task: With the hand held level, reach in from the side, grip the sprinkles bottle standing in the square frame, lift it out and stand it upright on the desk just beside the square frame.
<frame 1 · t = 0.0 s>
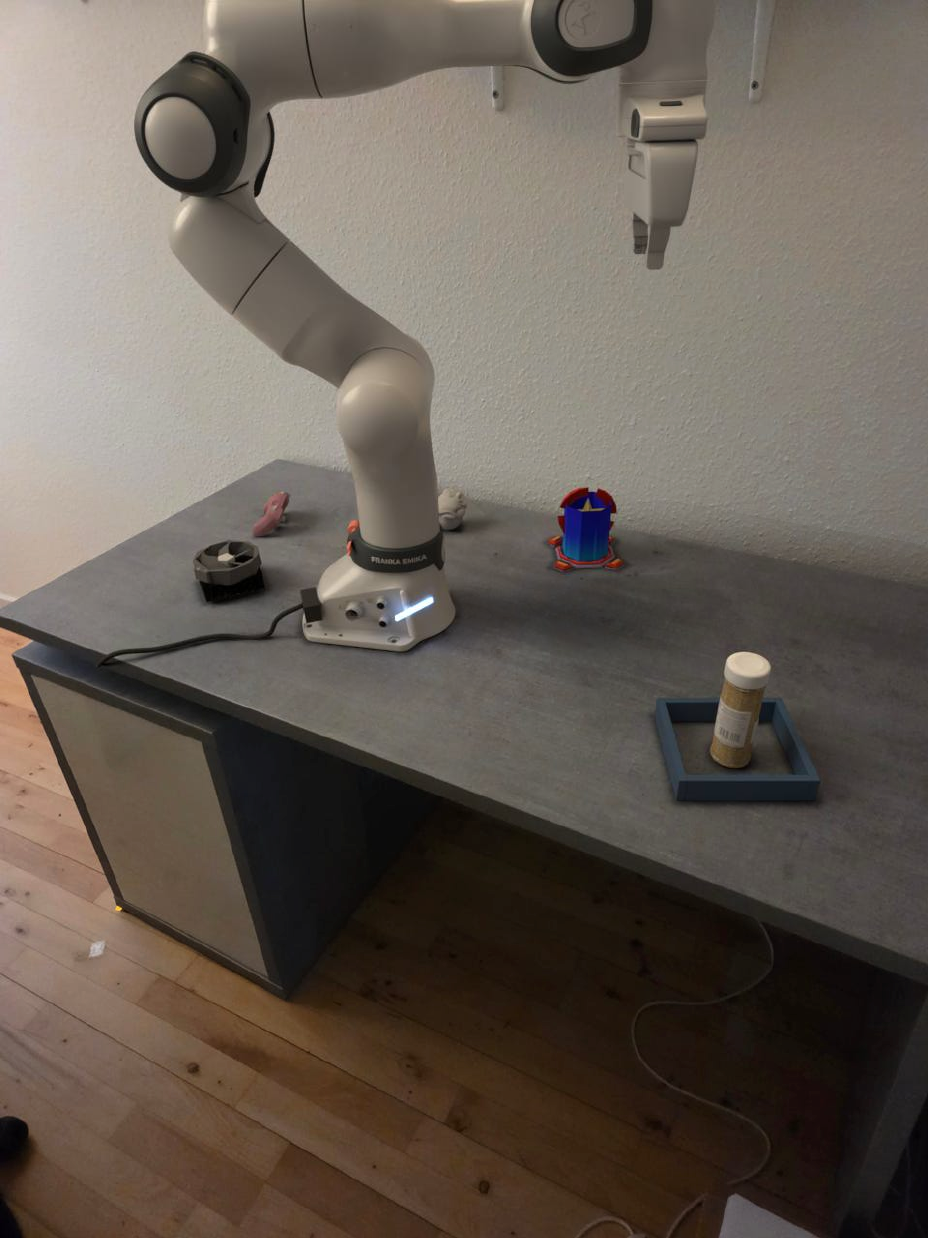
hand: (646, 260, 89), 48 cm above the table, tool pointing down, fingers open, 8 cm apart
sprinkles bottle: (728, 757, 91), resting in square frame
pink lumpy piece: (275, 526, 144), on the table
square frame: (729, 755, 91), on the table
cpu cooler: (232, 586, 126), on the table
frog figurine: (449, 528, 141), on the table
fantasy tower: (584, 554, 131), on the table
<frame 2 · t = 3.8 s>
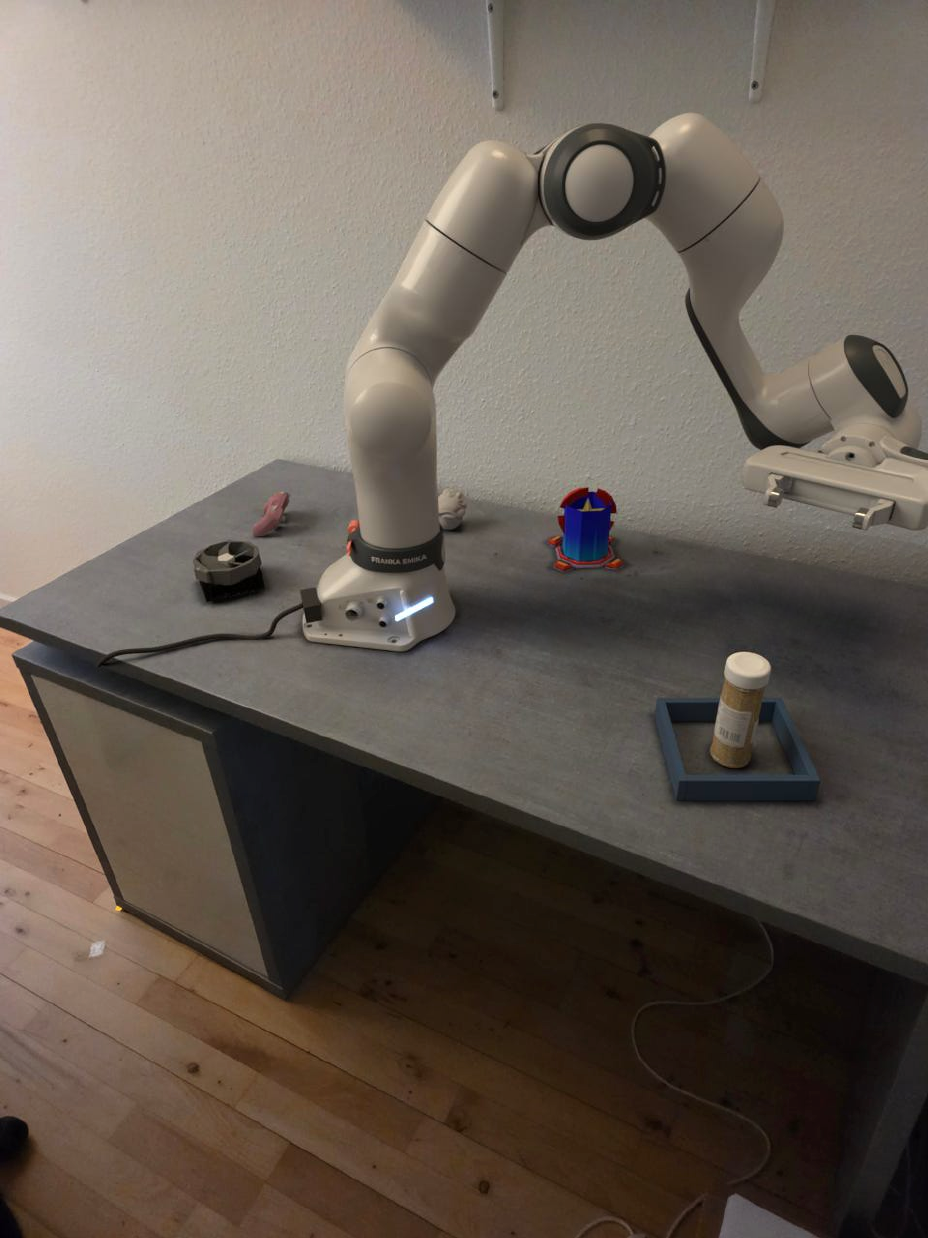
hand: (814, 511, 84), 26 cm above the table, tool horizontal, fingers open, 8 cm apart
nothing on the table moved.
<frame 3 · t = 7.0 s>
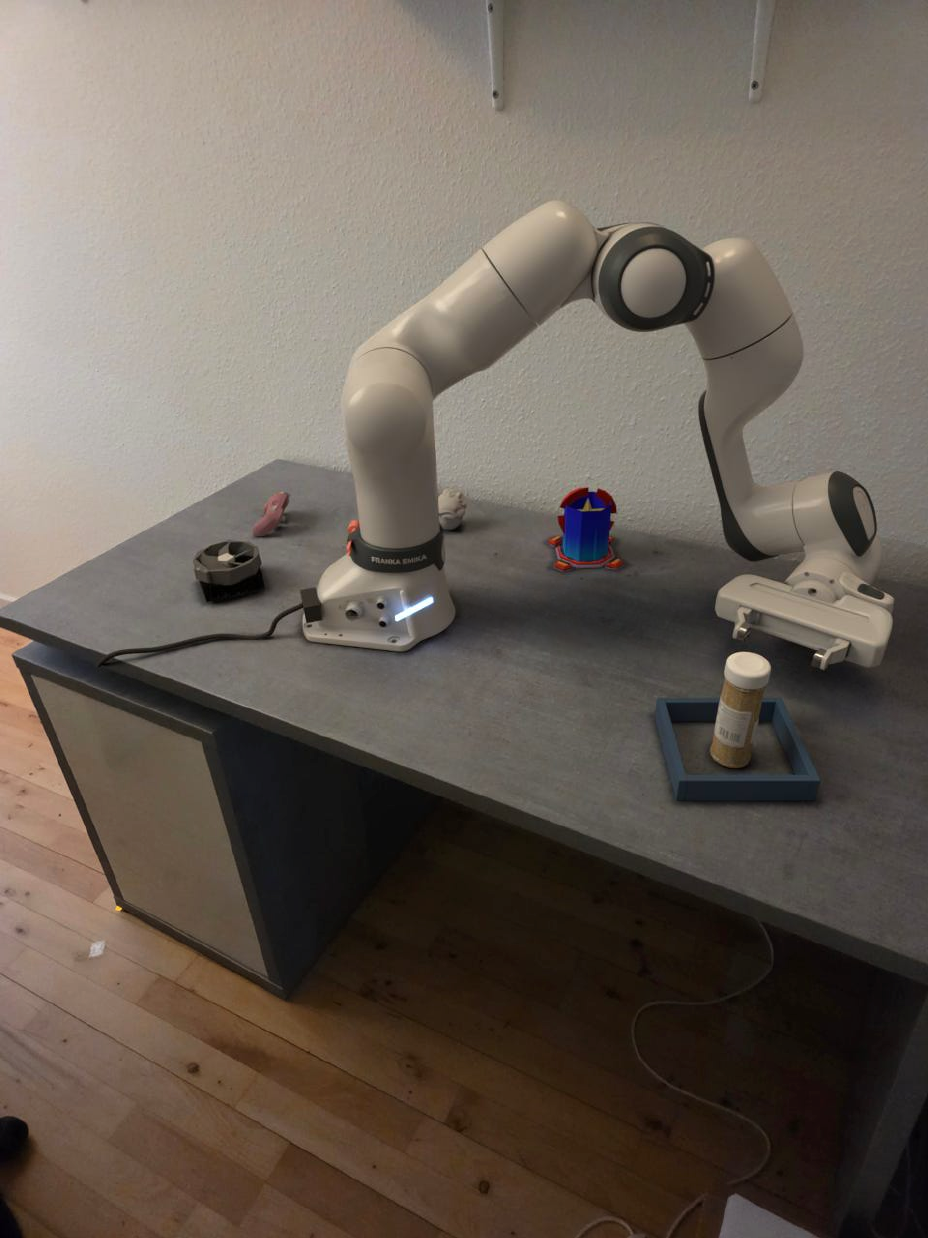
hand: (777, 649, 93), 9 cm above the table, tool horizontal, fingers open, 8 cm apart
nothing on the table moved.
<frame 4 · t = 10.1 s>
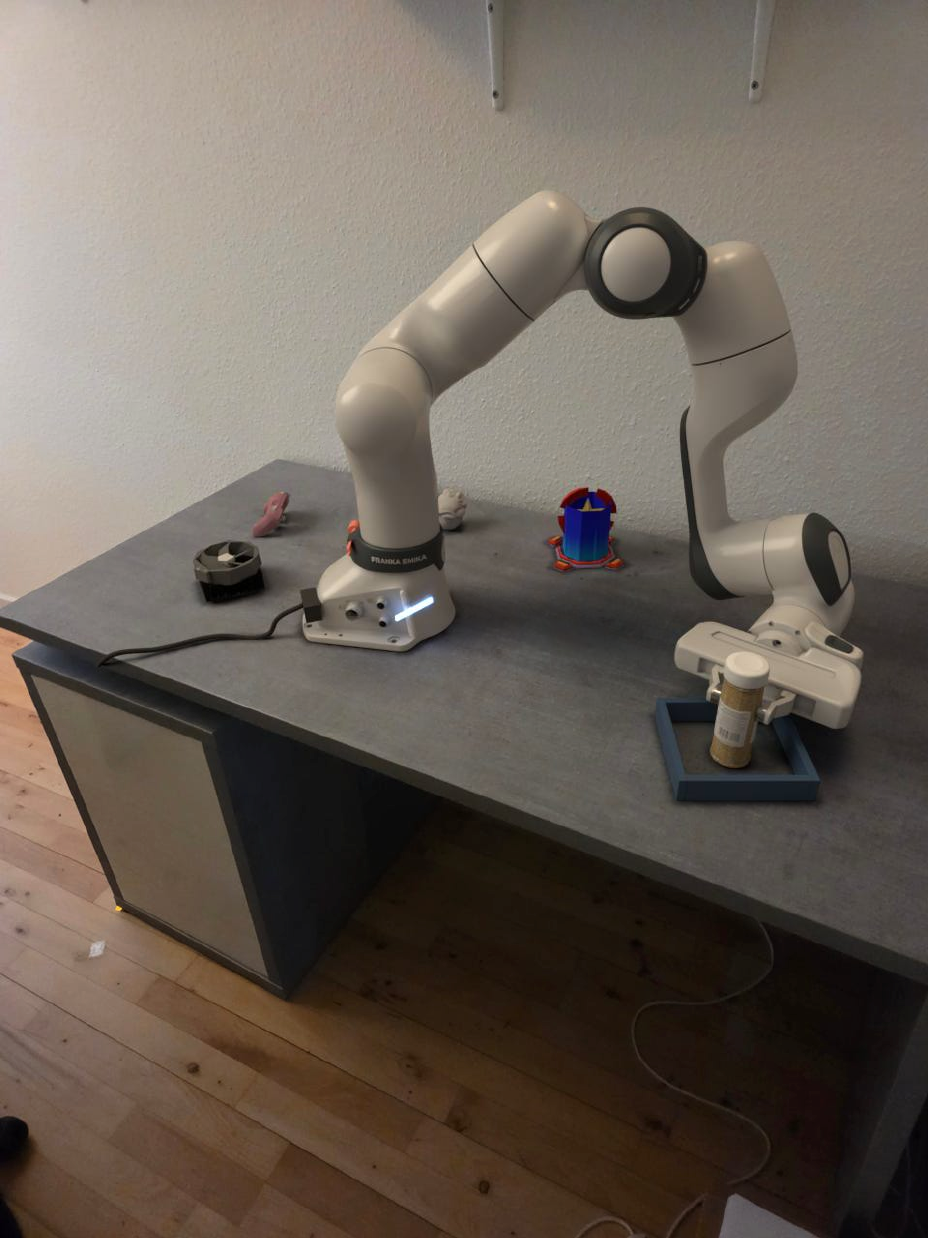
hand: (737, 707, 86), 8 cm above the table, tool horizontal, fingers closed on sprinkles bottle, 4 cm apart
sprinkles bottle: (729, 757, 91), resting in square frame, touching gripper
everything else where it was.
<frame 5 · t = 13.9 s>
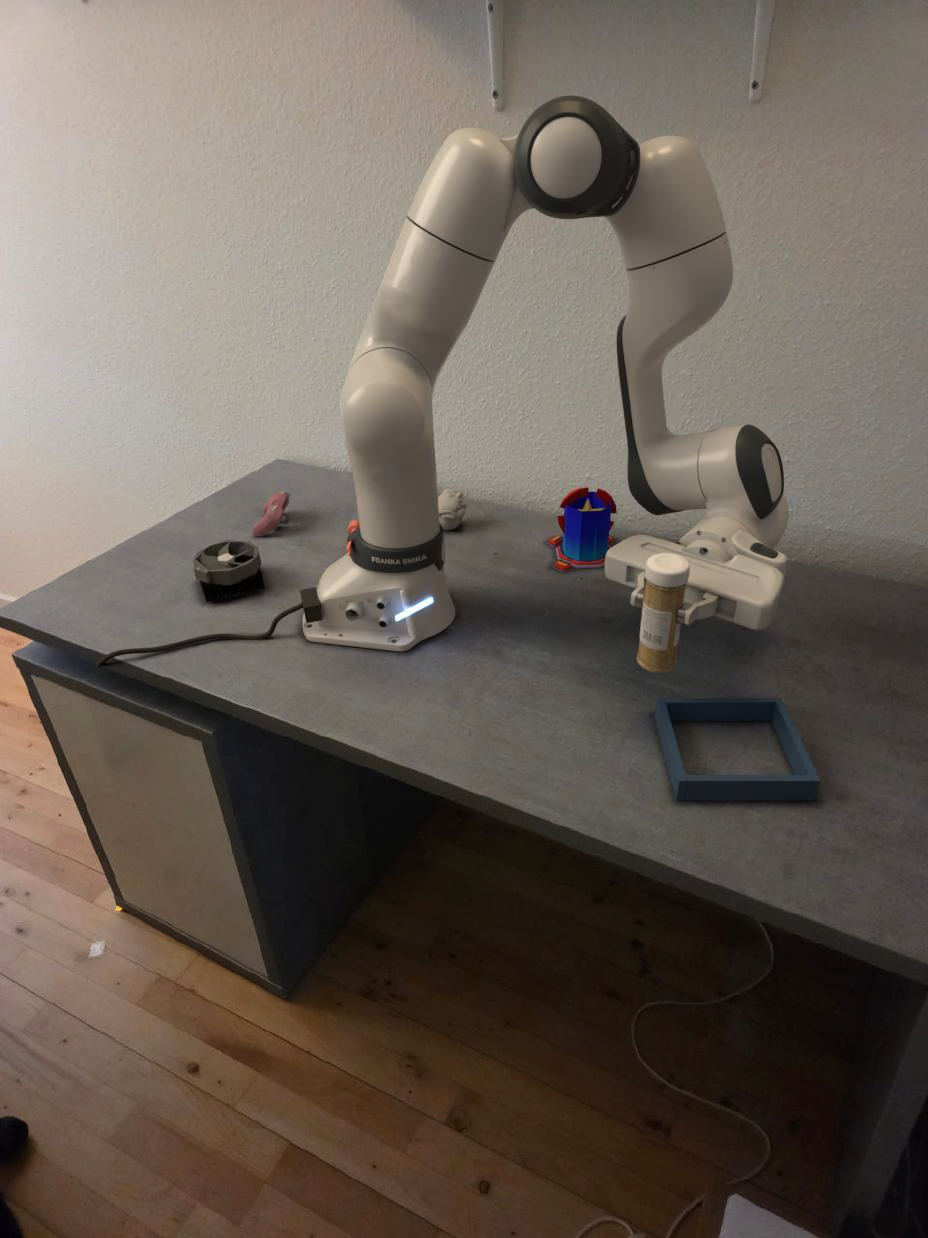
hand: (659, 609, 86), 17 cm above the table, tool horizontal, fingers closed on sprinkles bottle, 4 cm apart
sprinkles bottle: (655, 664, 91), point 9 cm above the table, touching gripper
everything else where it was.
when the fingers open (8 cm above the table, at t = 17.7 s): sprinkles bottle stays where it is, on the table.
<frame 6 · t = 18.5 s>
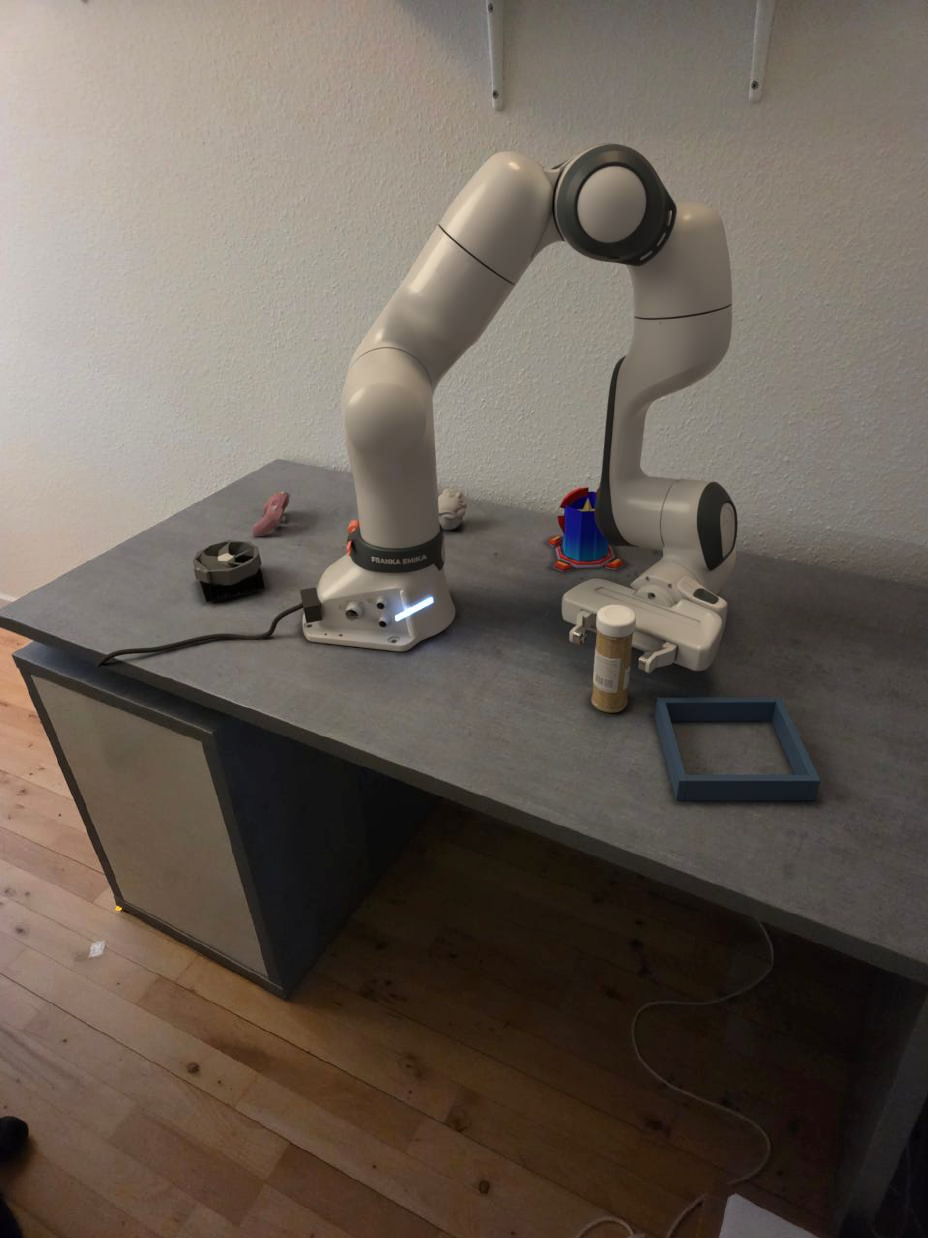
hand: (608, 652, 94), 8 cm above the table, tool horizontal, fingers open, 8 cm apart
sprinkles bottle: (608, 703, 100), on the table
everything else where it was.
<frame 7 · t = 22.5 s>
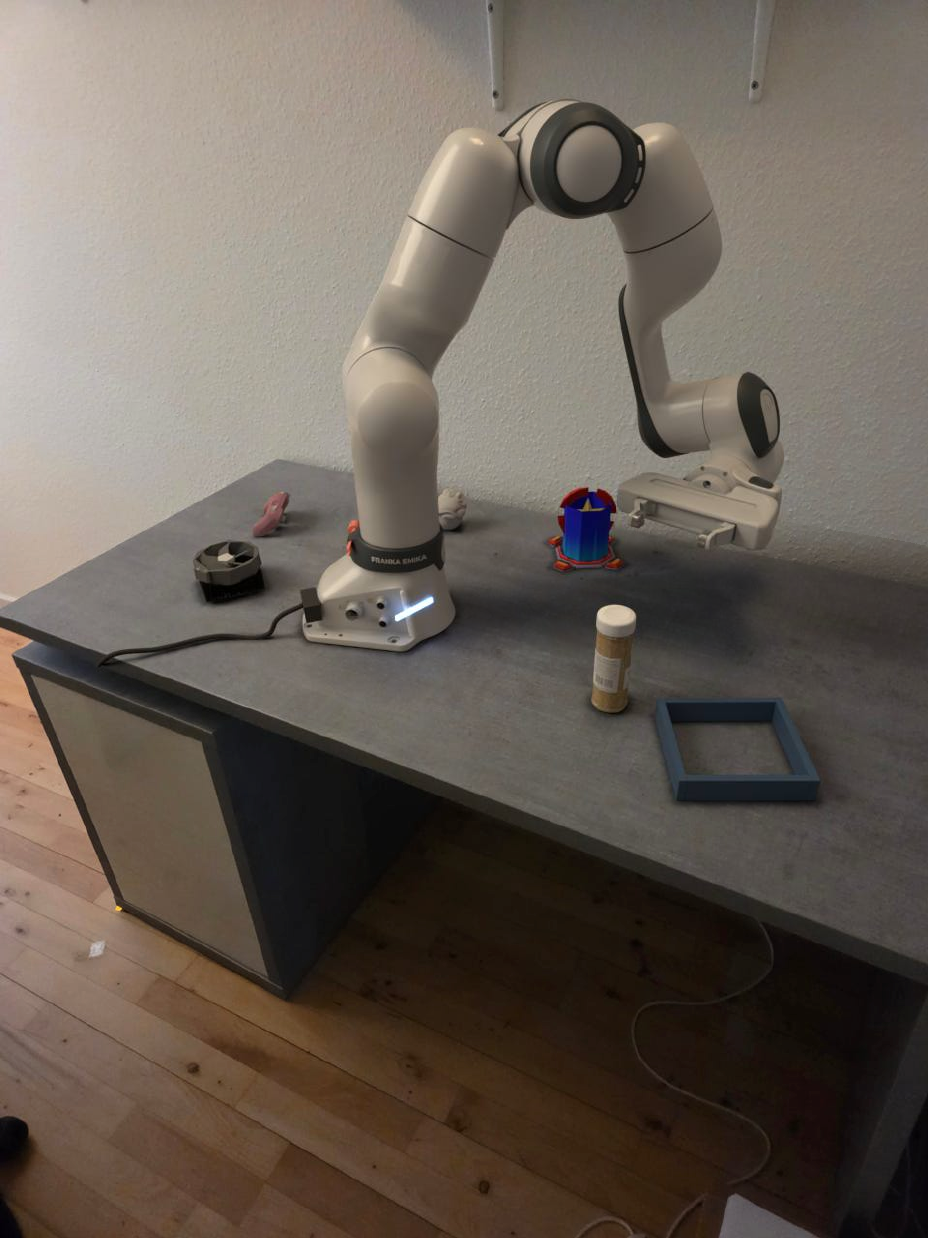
hand: (667, 532, 97), 19 cm above the table, tool horizontal, fingers open, 8 cm apart
nothing on the table moved.
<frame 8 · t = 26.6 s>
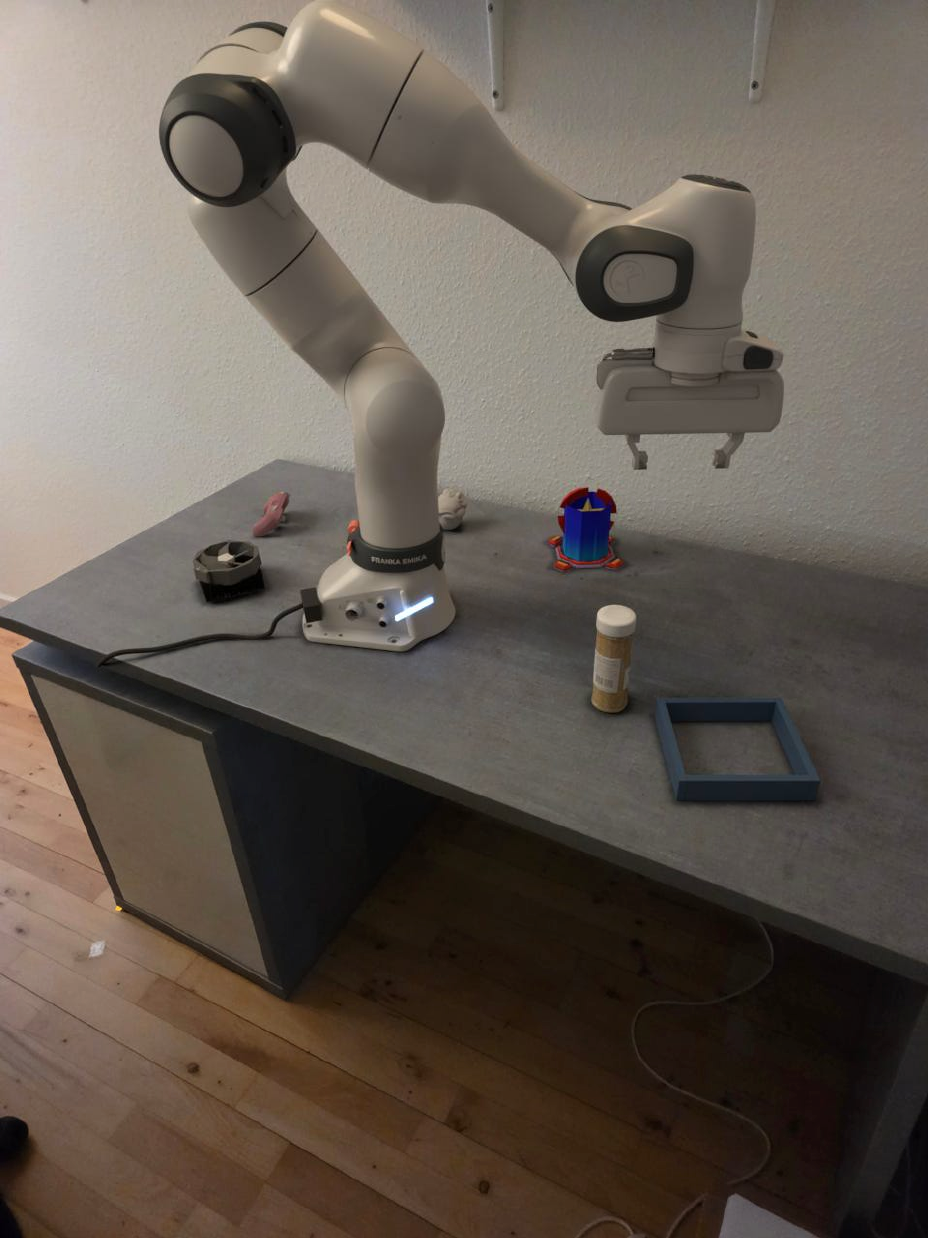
hand: (679, 467, 93), 27 cm above the table, tool pointing down, fingers open, 8 cm apart
nothing on the table moved.
at the end: sprinkles bottle 0.1 cm from the target spot, on the table; sprinkles bottle tilted 0°; the gripper is holding nothing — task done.
